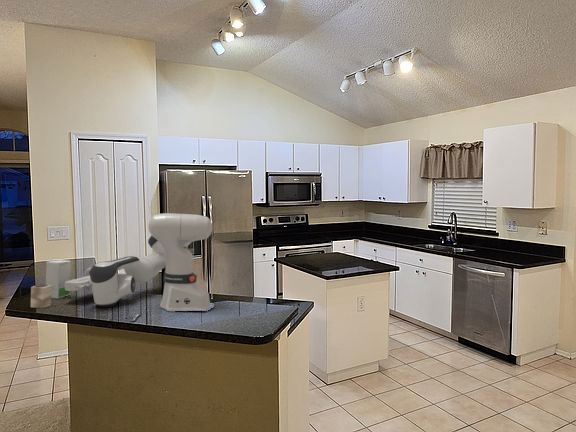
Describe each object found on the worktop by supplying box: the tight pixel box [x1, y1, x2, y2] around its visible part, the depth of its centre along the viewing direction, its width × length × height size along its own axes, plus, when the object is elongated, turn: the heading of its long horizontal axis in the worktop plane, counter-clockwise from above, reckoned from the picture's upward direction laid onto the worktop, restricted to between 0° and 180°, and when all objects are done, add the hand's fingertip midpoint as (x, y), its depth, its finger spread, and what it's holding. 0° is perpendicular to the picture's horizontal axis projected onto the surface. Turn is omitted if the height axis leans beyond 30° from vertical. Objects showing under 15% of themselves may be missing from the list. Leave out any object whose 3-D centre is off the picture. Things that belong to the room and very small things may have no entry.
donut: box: [83, 266, 93, 277], centre depth 204 cm, size 10×4×10 cm, turn 59°
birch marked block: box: [30, 284, 52, 309], centre depth 167 cm, size 5×5×8 cm
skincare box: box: [45, 259, 72, 300], centre depth 183 cm, size 8×7×16 cm
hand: (67, 281), depth 182 cm, fingers closed
